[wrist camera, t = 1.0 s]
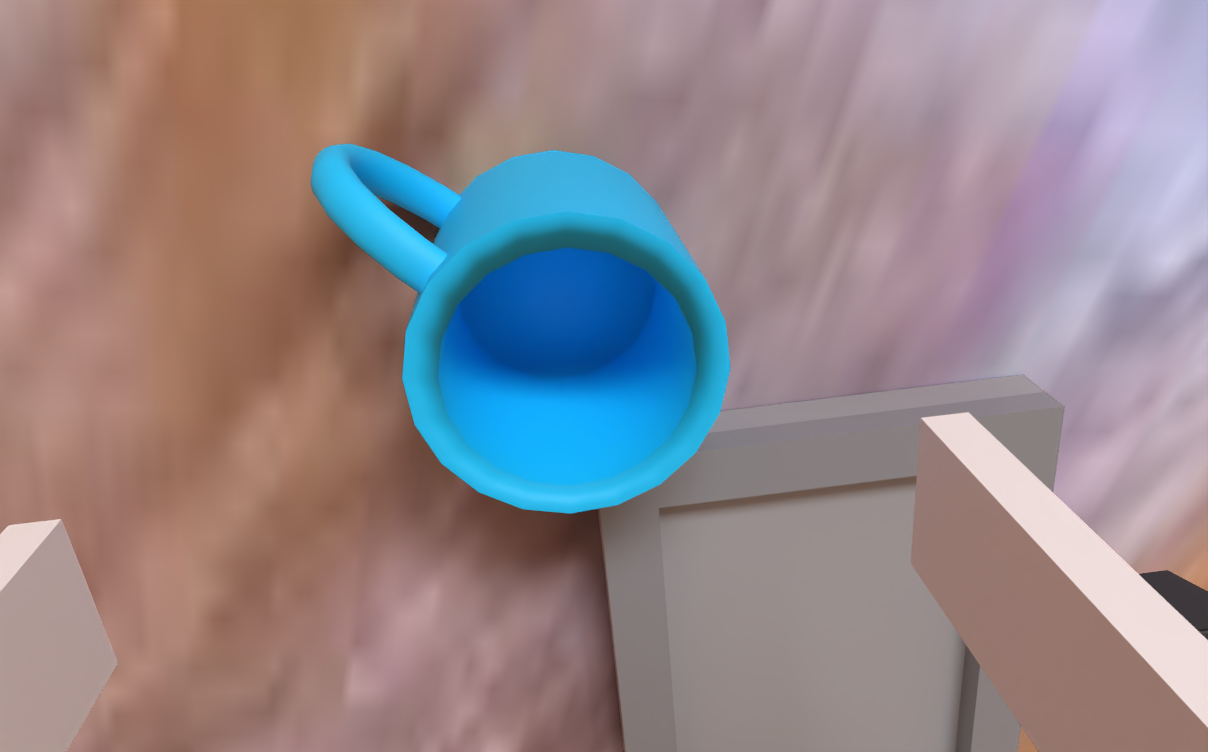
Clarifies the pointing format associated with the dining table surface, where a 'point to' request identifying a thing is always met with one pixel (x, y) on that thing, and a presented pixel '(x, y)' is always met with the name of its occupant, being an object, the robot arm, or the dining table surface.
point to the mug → (542, 323)
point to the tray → (805, 583)
